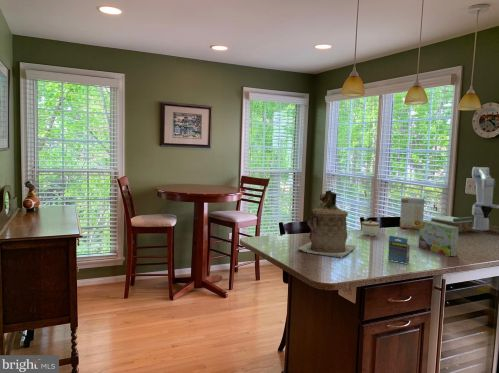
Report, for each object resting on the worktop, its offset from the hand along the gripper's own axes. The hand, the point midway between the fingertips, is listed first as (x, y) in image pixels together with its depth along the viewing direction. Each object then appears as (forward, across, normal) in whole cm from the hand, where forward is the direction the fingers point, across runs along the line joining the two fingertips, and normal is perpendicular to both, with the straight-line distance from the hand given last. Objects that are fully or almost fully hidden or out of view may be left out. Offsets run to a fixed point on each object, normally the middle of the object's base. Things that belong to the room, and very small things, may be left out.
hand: (485, 217), depth 256 cm
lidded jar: (+11, -28, -74) cm, 80 cm away
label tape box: (+12, +22, -107) cm, 110 cm away
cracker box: (+11, -32, -31) cm, 46 cm away
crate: (+10, -19, -7) cm, 23 cm away
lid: (+4, -19, -7) cm, 21 cm away
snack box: (+11, +17, -72) cm, 75 cm away
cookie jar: (+12, -10, -124) cm, 124 cm away
